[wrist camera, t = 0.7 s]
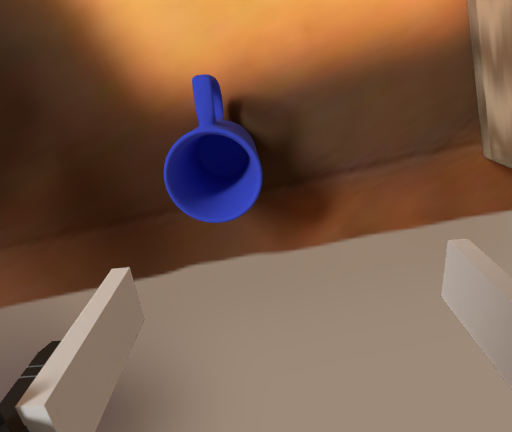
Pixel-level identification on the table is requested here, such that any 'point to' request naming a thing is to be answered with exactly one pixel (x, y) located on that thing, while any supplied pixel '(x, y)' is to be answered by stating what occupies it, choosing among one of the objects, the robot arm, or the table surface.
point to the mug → (213, 162)
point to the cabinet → (493, 74)
